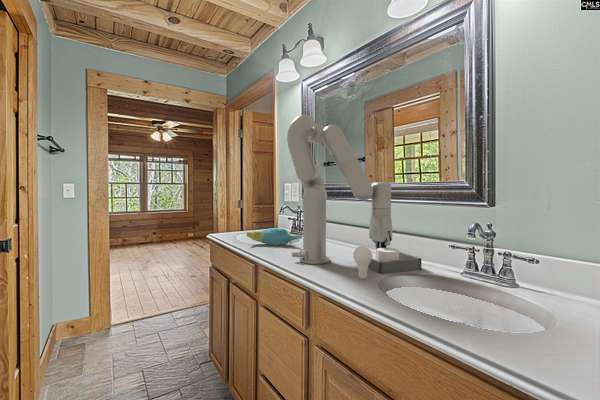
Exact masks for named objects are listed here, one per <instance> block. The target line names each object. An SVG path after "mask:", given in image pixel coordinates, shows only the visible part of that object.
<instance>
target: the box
mask: <svg viewBox="0 0 600 400" xmlns="http://www.w3.org/2000/svg"><path fill="white" fill-rule="evenodd" d="M368 269H369V270H370V271H372V272H375V273H377V274H379V275H380V274H381V275H382V274H390V273H399V272H409V271H410V272H411V271H417V270H422V258H421V257H417V256H414V255H410V254H408V253H404V252H401V251H399V260H392V261H381V262H380V261H378V260H377V259H376V258H373V257H372V259H371V261H370V263H369V265H368Z"/></svg>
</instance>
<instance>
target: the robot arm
mask: <svg viewBox="0 0 600 400" xmlns="http://www.w3.org/2000/svg"><path fill="white" fill-rule="evenodd" d="M286 135H287V137H286V138H287V139H286V141H287V146H288V150H289V154H290V157H291V161H292V164H293V167H294V171H295V175H296V177H297V179H298V180H299V181H300V184H301V187H302V189H303V193H302V213H303V214H302V217H303V218H302V223H303V225H302V226H303V230H302V231H303V233H302V238H303V239H302V240H303V241H302V244H303V247H302V248H301V249H300V251H293V252H292V253H291V256H292V258H297V259H298V258H299V262H301V263H303V264H309V265H323V264H327V263H329V262H330V257H329V256H327V198H328V194H327V190H326V186H325V184H324V181H323V177H322V174H321V171H320V169H319V167H318V165H317V164H316V162H315V160H314V157H313V154H312V151H311V148H310V147H311V146H310V144H309V143H311V144H315V145H318V146H321V147H324V148H327V151H328V153H329V155H330V156H331V158H332V160H333V162H334V164H335V165H336V167H337V168H338V170H339V171H340V173H342V175H343V176H344V178H345V180H346V181H347V184H348V185H349V188H350V189H351V191H352V194H353V197H354V198H356V199H357V200H359V201H368V200H371V215H370V220H369V227H368V229H369V230H368V238H369V239H370V240H372V242H373V243H374V244H375V248H376V249H375V250H376V251H375V252H376V255H375V256H376V257H375V258H377V249H378V248H387V246H391V242H392V241H393V223H392V222H393V221H392V184H391V182H388V181H387V182H386V181H384V182H383V181H378V182H377V181H376V182H371V181H370V179H369V177H368V176H367V174H366V172H365V170H364V169H363V167H362V165H361V164H360V162H359V159H358V157H357V156H356V154H355V152H354V151H353V149H352V147H351V145H350V143H349V142H348V140H347V138H346V136H345V134H344V132H343V130H342V129H341V128H340V127H339V125H337V124H329V125H327V126H323V125H321V124H319V123H318V124H317V123H315V120H314V119H313V118H312V117H311V116H310V115H308V114H301V115H298V116H297V117H295V118H294V119H293V121H292V122H291V123H290V125H289V127H288V129H287V134H286Z"/></svg>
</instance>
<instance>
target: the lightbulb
mask: <svg viewBox="0 0 600 400" xmlns="http://www.w3.org/2000/svg"><path fill="white" fill-rule="evenodd" d="M352 255H353V256H352V257H353V259H354V261H355V264H356V266H357V271H358V278H359V279H361V280H365V279H367V273H368V265H369V263H370V261H371V259H372V258H373V253H372V250H371V249H370V248H369V247H367V246H364V245H363V246H362V245H361V246H357V247H356V248H355V249H354V251H353V253H352Z"/></svg>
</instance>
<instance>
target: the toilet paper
mask: <svg viewBox="0 0 600 400" xmlns="http://www.w3.org/2000/svg"><path fill="white" fill-rule="evenodd" d="M399 252H400V250H399V249H398V248H394V247H393V248H392V247H386V248H378V249H377V257H376V260H378V261H380V262H381V261H392V260H399Z"/></svg>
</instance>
